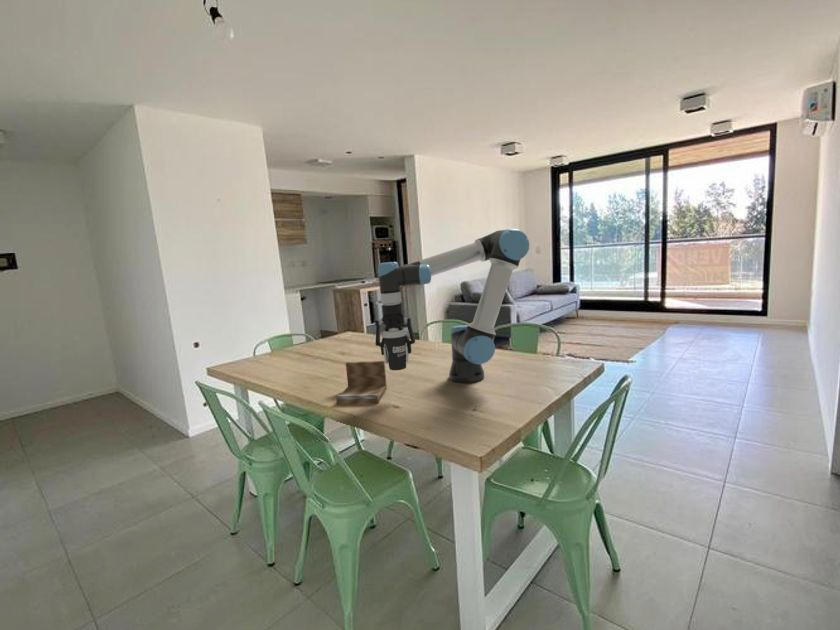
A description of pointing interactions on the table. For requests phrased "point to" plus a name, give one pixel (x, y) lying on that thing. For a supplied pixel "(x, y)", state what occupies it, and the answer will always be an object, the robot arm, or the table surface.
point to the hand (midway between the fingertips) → (397, 362)
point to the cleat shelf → (364, 383)
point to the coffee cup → (395, 348)
